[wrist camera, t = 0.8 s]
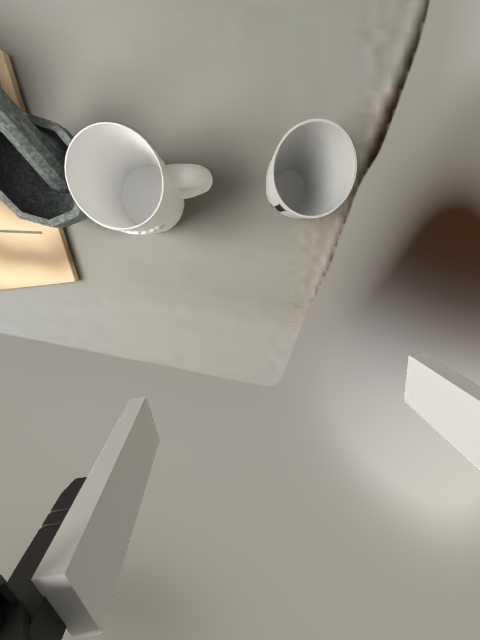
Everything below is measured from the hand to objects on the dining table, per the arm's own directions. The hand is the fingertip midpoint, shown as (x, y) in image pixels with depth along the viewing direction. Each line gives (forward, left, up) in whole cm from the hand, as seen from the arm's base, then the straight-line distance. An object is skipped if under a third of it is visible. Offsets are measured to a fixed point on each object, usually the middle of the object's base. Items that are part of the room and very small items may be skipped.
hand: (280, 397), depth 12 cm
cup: (-13, +7, -26) cm, 29 cm away
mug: (-13, -8, -26) cm, 30 cm away
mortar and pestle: (-16, -19, -25) cm, 35 cm away
